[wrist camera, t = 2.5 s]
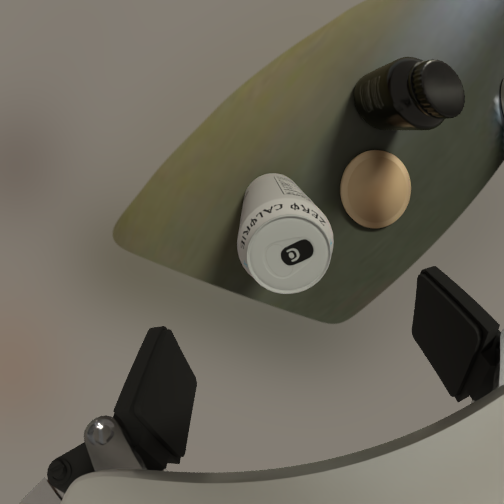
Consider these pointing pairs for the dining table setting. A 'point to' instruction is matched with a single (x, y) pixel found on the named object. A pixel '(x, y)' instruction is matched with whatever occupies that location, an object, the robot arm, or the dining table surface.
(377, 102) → the supplement bottle
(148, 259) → the dining table surface
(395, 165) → the coaster
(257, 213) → the energy drink can
